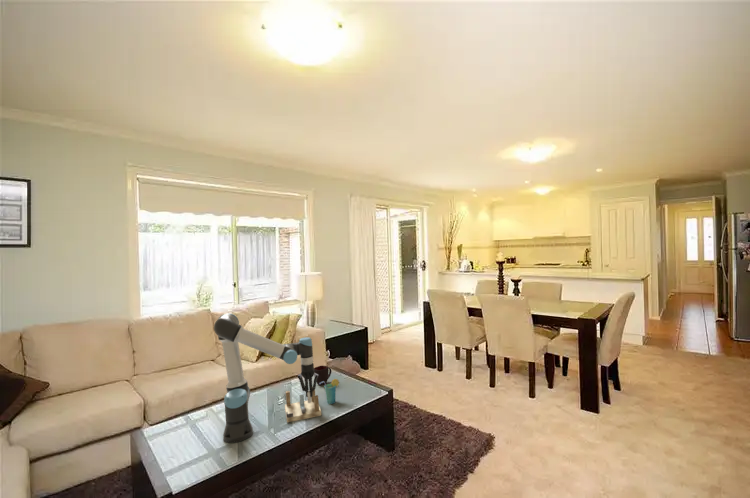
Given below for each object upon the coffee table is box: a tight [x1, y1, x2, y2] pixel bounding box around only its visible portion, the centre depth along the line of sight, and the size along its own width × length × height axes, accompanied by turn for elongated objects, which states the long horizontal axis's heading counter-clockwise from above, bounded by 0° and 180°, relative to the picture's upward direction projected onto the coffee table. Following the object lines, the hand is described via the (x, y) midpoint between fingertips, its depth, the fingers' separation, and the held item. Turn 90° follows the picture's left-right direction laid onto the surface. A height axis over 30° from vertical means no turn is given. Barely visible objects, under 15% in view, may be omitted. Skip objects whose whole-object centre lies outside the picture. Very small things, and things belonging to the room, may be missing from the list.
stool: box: [284, 389, 322, 423], centre depth 220 cm, size 20×20×11 cm
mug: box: [314, 365, 332, 386], centre depth 267 cm, size 10×14×12 cm
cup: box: [319, 378, 340, 405], centre depth 231 cm, size 14×8×15 cm, turn 128°
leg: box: [298, 392, 306, 413], centre depth 216 cm, size 10×2×8 cm, turn 17°
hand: (309, 402), depth 219 cm, fingers closed
